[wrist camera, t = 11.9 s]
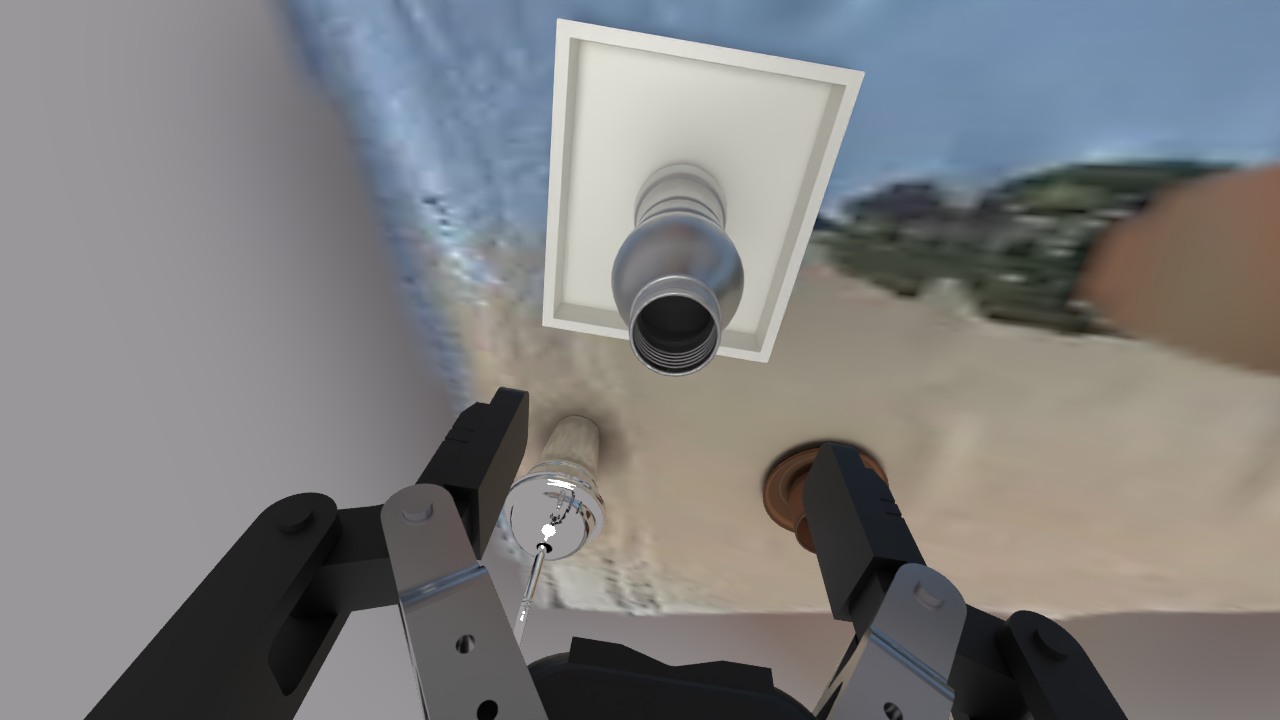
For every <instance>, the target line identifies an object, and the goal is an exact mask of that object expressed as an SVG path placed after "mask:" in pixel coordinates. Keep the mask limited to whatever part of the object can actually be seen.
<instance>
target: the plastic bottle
mask: <svg viewBox="0 0 1280 720" xmlns="http://www.w3.org/2000/svg"><path fill="white" fill-rule="evenodd" d="M633 219H634V227H635V229H634V230H633V231H632V232H631V233H630V234H629V235H628V237H627V238H626V239H625V241H624V242H623V244H622V246H621V247H620V249H619V251H618V253H617V256H616V258H615V260H614V264H613V268H612V273H611V287H612V293H613V298H614V301H615V303H616V306H617V309H618V311H619V314H620V316H621V318H622V319H623V321H624V322H625V324H626V325H627V327H628V328H629V339H630V345H631V347H632V350H633V352H634V354H635V355H636V357H637V359H638V360H639V361H640V362H641V363H642V364H643V365H644V366H646V367H647V368H648V369H650V370H652V371H654V372H656V373H658V374H662V375H665V376H674V377H676V376H685V375H689V374H692V373H695V372H697V371H699V370H701V369H702V368H703V367H705V366H706V365H707V364H708V363H709V362H710V361H711V360H712V359H713V357H714V356H715V354H716V353H717V350H718V348H719V345H720V341H721V335H722V331H723V330H724V329H725V328H726V327H727V326H728V325H729V323H730V322H731V320H732V318H733V317H734V315H735V313H736V311H737V309H738V307H739V304H740V301H741V299H742V295H743V290H744V269H743V265H742V261H741V258H740V256H739V254H738V251H737V249H736V247H735V245H734V243H733V241H732V240H731V239H730V237H729V236H728V235H727V233H726V232H725V228H726V222H727V203H726V199H725V195H724V193H723V191H722V189H721V187H720V185H719V184H718V183H717V181H716V180H715V179H714V178H713V177H712V176H711V175H710V174H709V173H707V172H706V171H704V170H702V169H700V168H698V167H695V166H692V165H686V164H677V165H670V166H667V167H665V168H662V169H660V170H658V171H657V172H655V173H654V174H652V175H651V176H650V177H649V178H648V179H647V180H646V181H645V183H644V184H643V185H642V187H641V188H640V190H639V192H638V194H637V197H636V200H635V204H634V212H633Z"/></svg>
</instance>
